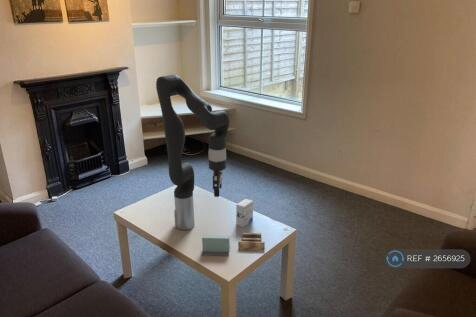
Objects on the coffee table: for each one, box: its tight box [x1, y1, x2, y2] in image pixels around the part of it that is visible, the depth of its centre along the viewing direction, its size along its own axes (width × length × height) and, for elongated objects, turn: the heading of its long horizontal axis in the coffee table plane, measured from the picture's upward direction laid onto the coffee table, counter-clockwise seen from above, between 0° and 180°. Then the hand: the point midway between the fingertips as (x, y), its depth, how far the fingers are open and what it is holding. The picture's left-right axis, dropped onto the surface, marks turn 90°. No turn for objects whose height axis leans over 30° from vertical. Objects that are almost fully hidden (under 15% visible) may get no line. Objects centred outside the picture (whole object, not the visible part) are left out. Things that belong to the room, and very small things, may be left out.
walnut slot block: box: [241, 232, 262, 242], centre depth 180 cm, size 9×6×2 cm, turn 87°
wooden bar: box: [237, 240, 266, 251], centre depth 174 cm, size 12×2×4 cm, turn 87°
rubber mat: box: [201, 250, 230, 257], centre depth 173 cm, size 12×8×1 cm, turn 87°
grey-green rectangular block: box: [201, 234, 231, 253], centre depth 172 cm, size 7×2×12 cm
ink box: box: [235, 198, 254, 228], centre depth 195 cm, size 9×5×12 cm, turn 143°
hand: (217, 192), depth 168 cm, fingers open, 8 cm apart
